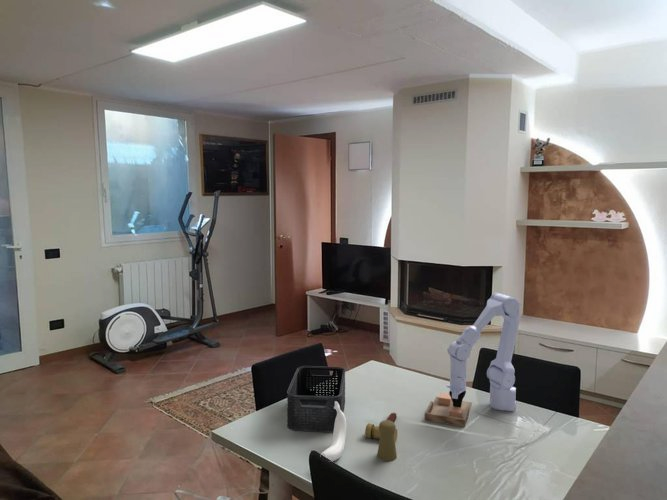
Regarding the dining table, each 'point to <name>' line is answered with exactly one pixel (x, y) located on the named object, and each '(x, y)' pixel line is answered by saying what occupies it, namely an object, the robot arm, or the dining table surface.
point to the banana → (337, 436)
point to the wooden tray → (446, 413)
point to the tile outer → (444, 399)
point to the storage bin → (315, 399)
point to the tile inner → (456, 412)
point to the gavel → (374, 430)
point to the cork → (387, 441)
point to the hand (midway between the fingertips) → (457, 410)
